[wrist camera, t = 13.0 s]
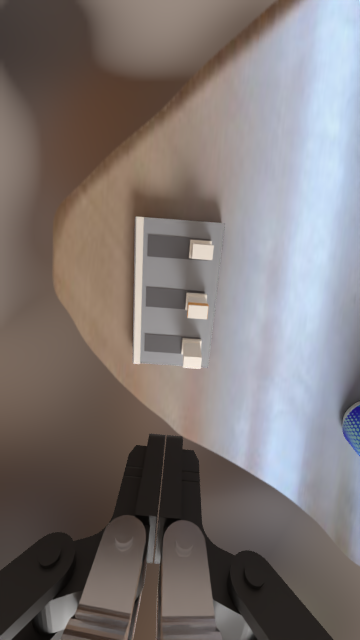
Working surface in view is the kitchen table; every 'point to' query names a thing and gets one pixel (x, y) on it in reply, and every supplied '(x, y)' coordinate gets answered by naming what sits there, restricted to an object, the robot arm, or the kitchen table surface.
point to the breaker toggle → (196, 305)
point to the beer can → (352, 426)
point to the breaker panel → (174, 289)
